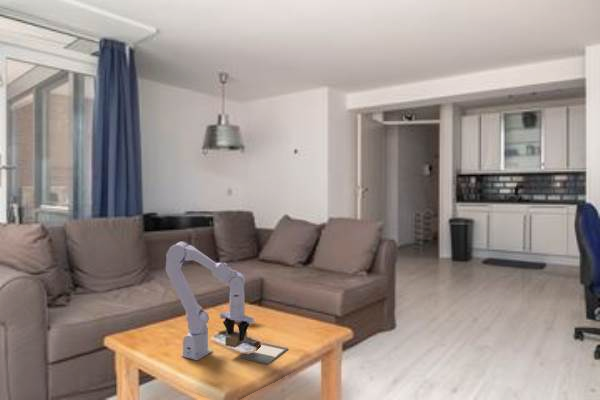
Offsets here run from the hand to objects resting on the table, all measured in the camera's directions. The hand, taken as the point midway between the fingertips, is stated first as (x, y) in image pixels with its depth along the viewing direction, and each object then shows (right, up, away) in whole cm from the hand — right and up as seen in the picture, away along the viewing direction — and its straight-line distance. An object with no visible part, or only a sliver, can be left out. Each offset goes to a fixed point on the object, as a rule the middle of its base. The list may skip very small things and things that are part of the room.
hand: (236, 339), depth 159 cm
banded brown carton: (0, -2, 0) cm, 2 cm away
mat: (+11, -6, 0) cm, 13 cm away
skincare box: (-5, -4, +37) cm, 38 cm away
